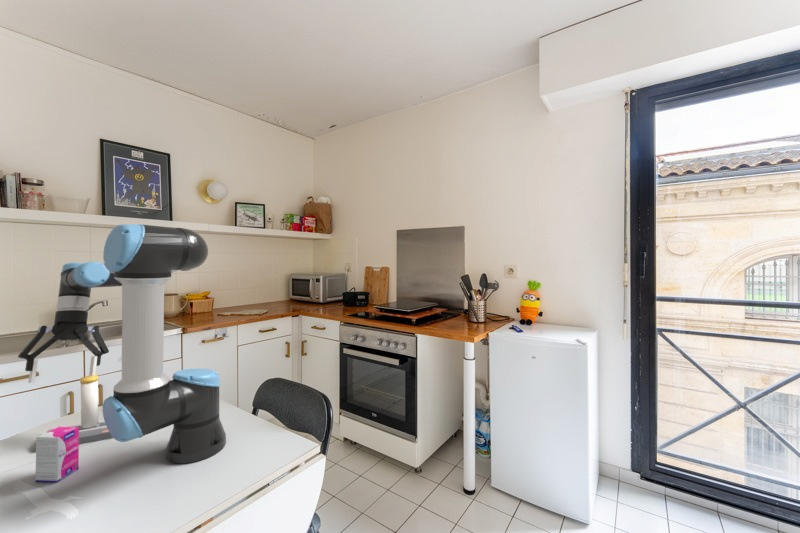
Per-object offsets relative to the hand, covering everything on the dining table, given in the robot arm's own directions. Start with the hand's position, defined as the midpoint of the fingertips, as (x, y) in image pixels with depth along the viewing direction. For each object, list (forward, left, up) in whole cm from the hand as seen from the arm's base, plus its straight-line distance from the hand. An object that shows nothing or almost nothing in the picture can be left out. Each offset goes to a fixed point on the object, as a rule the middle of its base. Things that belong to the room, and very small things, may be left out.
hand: (63, 379), depth 104 cm
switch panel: (0, -6, -19) cm, 20 cm away
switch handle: (0, -6, -16) cm, 17 cm away
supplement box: (-22, -6, -19) cm, 30 cm away
